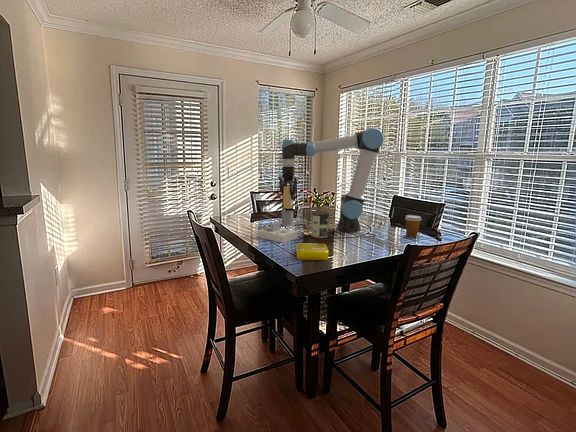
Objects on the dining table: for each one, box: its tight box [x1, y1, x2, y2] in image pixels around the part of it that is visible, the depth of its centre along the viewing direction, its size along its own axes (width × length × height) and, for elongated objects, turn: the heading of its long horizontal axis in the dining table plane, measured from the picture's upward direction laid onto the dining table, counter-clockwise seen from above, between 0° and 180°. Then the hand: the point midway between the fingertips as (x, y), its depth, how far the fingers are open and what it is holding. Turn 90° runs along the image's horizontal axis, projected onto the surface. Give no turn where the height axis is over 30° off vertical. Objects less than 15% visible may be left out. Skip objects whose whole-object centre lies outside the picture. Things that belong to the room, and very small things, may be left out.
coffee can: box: [310, 210, 330, 239], centre depth 204 cm, size 10×10×14 cm
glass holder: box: [280, 202, 302, 227], centre depth 233 cm, size 9×14×15 cm, turn 107°
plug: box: [284, 185, 294, 209], centre depth 209 cm, size 4×4×13 cm
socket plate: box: [258, 227, 299, 244], centre depth 199 cm, size 18×14×4 cm
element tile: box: [295, 242, 329, 261], centre depth 168 cm, size 15×15×5 cm
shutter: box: [263, 221, 281, 231], centre depth 201 cm, size 7×7×4 cm
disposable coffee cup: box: [404, 214, 422, 238], centre depth 209 cm, size 10×10×12 cm
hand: (288, 204), depth 209 cm, fingers closed on plug, 4 cm apart
